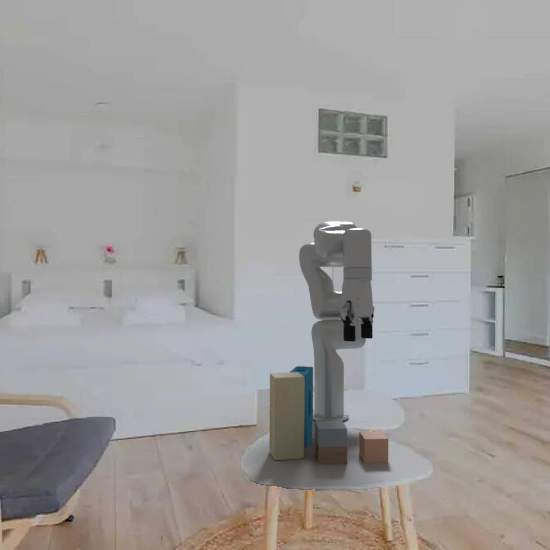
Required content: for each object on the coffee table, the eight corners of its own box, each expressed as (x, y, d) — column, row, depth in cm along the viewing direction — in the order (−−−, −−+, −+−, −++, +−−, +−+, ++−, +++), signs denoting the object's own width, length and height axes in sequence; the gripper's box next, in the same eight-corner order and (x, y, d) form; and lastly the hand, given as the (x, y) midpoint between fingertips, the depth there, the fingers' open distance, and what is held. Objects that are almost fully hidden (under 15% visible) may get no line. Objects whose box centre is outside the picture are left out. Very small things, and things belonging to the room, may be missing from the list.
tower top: (315, 438, 140) (315, 420, 140) (341, 437, 141) (341, 420, 140) (319, 447, 133) (319, 429, 133) (346, 446, 134) (346, 428, 133)
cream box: (297, 448, 145) (297, 371, 144) (305, 458, 137) (304, 376, 137) (268, 451, 143) (268, 372, 142) (274, 461, 136) (274, 378, 135)
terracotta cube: (359, 454, 140) (359, 431, 140) (381, 453, 141) (381, 431, 141) (364, 463, 134) (364, 439, 134) (388, 462, 135) (388, 438, 135)
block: (305, 449, 144) (305, 375, 144) (287, 448, 145) (287, 374, 145) (313, 435, 156) (313, 366, 155) (296, 434, 157) (296, 366, 156)
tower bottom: (315, 455, 140) (315, 438, 140) (341, 454, 141) (341, 437, 140) (319, 465, 133) (319, 447, 133) (347, 464, 134) (347, 446, 134)
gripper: (360, 276, 152) (360, 336, 152) (328, 275, 139) (329, 341, 138) (384, 275, 148) (385, 337, 148) (354, 274, 134) (355, 343, 134)
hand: (358, 339), depth 143 cm, fingers open, 9 cm apart
